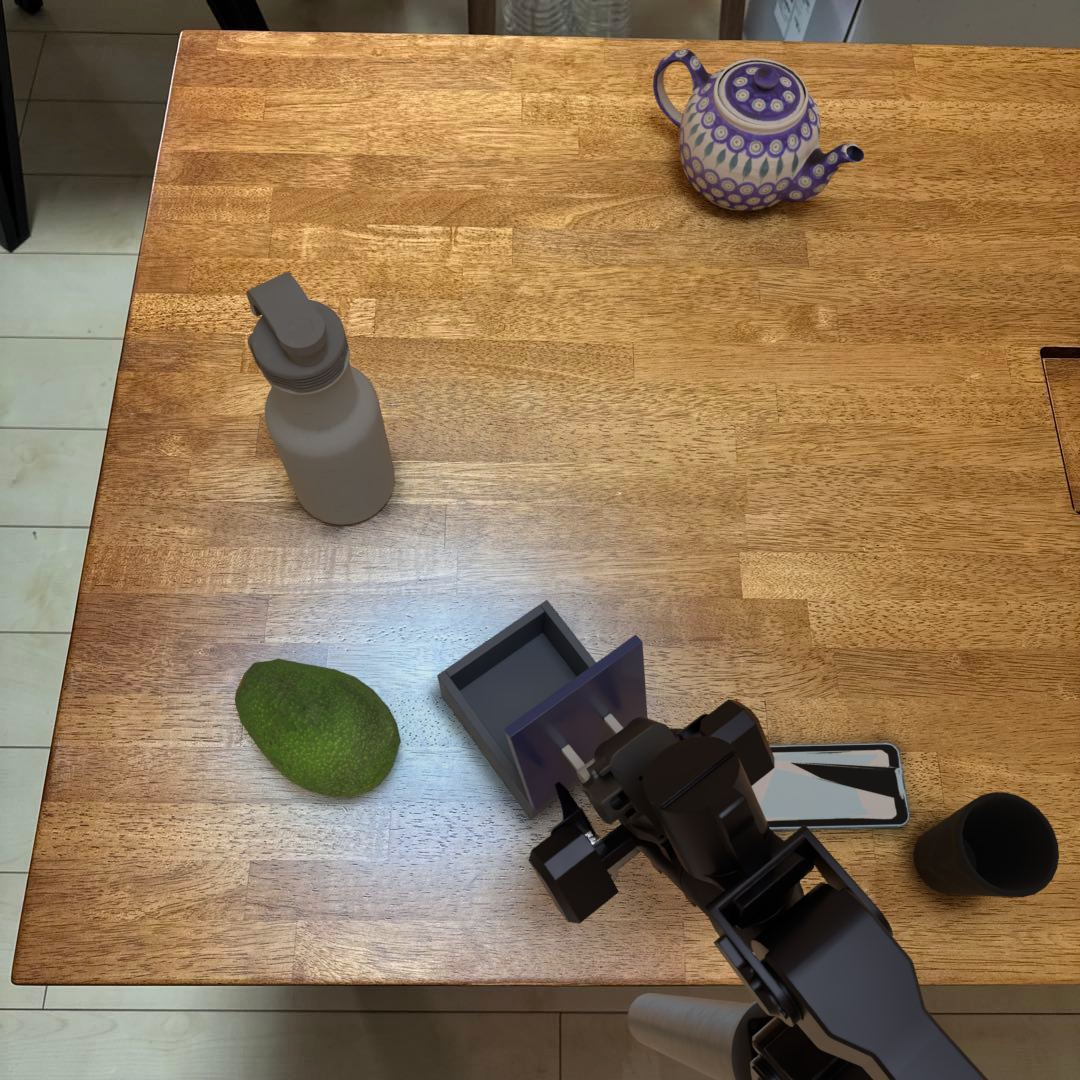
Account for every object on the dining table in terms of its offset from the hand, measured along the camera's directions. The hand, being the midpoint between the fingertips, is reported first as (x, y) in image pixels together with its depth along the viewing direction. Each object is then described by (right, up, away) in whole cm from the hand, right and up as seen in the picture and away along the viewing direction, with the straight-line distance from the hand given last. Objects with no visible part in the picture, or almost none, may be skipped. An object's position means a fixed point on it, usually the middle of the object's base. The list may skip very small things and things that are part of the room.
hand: (597, 757), depth 78 cm
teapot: (+18, +58, +39) cm, 72 cm away
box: (-5, +1, +13) cm, 14 cm away
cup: (+30, -11, +9) cm, 34 cm away
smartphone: (+20, -5, +11) cm, 23 cm away
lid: (-1, +3, -2) cm, 4 cm away
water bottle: (-24, +23, +22) cm, 39 cm away
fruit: (-24, 0, +12) cm, 26 cm away
